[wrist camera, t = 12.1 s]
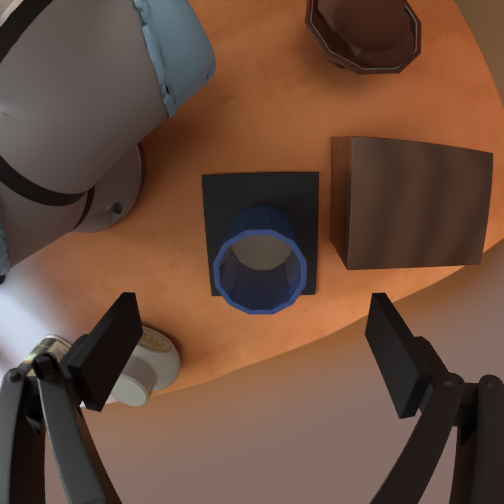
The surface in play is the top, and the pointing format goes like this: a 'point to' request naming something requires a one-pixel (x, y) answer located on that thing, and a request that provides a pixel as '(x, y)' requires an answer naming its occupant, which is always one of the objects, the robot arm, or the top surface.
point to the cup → (260, 261)
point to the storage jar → (2, 278)
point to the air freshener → (147, 369)
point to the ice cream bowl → (365, 33)
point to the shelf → (408, 203)
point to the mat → (262, 193)
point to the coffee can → (46, 345)
